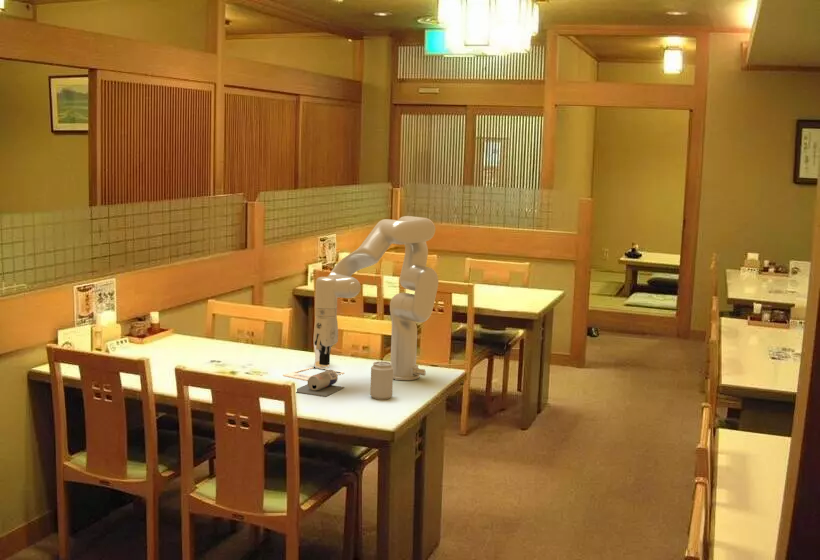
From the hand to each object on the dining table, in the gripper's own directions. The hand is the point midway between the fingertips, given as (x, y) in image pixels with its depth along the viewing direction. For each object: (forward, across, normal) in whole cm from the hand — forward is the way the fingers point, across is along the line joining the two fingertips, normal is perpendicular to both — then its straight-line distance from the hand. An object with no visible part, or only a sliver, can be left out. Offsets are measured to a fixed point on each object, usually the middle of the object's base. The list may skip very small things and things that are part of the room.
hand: (324, 364), depth 317 cm
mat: (+9, -2, +1) cm, 9 cm away
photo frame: (+9, +17, +13) cm, 23 cm away
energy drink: (+6, +6, 0) cm, 9 cm away
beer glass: (+9, +31, +17) cm, 36 cm away
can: (+9, 0, -22) cm, 24 cm away
